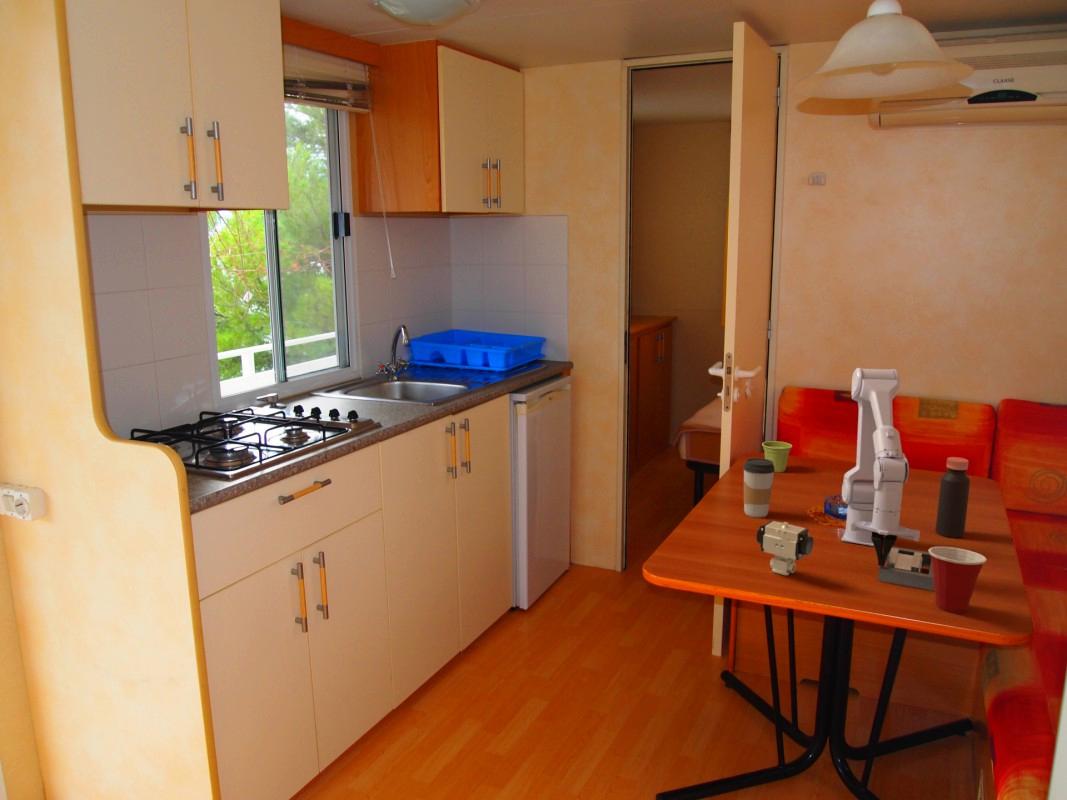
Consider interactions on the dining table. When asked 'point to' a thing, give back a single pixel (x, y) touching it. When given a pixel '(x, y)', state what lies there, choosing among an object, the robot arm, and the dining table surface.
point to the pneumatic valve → (784, 545)
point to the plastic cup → (954, 576)
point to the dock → (909, 573)
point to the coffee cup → (757, 486)
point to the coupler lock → (904, 561)
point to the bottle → (953, 499)
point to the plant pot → (777, 454)
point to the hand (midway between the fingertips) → (881, 564)
